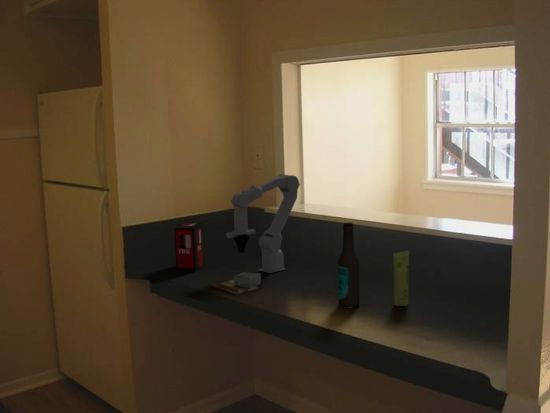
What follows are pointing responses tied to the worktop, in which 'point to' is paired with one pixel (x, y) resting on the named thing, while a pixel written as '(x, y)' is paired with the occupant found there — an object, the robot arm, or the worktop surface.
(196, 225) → the cleaning product box
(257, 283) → the medicine box
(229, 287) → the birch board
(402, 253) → the tube
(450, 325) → the worktop surface
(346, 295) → the beer bottle
